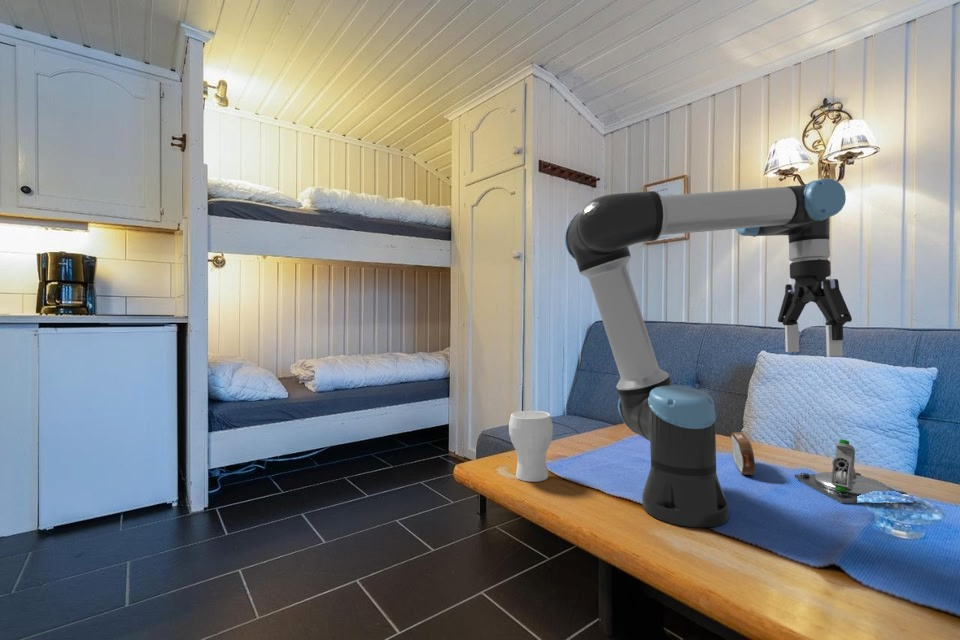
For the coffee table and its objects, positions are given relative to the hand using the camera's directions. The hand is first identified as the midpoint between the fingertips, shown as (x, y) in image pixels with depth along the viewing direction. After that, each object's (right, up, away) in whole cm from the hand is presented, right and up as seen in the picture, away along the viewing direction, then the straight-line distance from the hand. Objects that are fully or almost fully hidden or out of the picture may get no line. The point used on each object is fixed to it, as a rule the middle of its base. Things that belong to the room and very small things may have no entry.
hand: (812, 354), depth 101 cm
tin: (-11, -29, +8) cm, 32 cm away
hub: (+3, -29, -6) cm, 29 cm away
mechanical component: (+5, -26, -5) cm, 27 cm away
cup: (-63, -30, +6) cm, 70 cm away
